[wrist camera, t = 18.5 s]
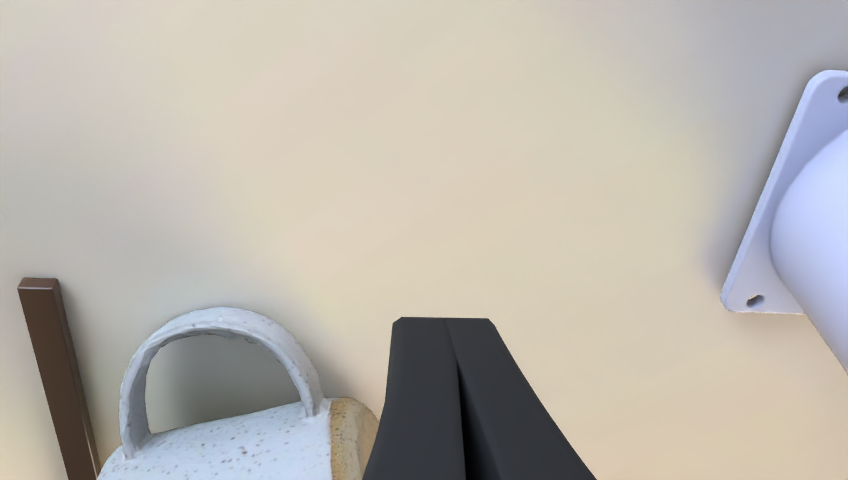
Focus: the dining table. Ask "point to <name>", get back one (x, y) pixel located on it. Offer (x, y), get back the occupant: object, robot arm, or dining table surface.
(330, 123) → the dining table surface
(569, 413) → the dining table surface
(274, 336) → the ceramic mug
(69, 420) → the corner guide
